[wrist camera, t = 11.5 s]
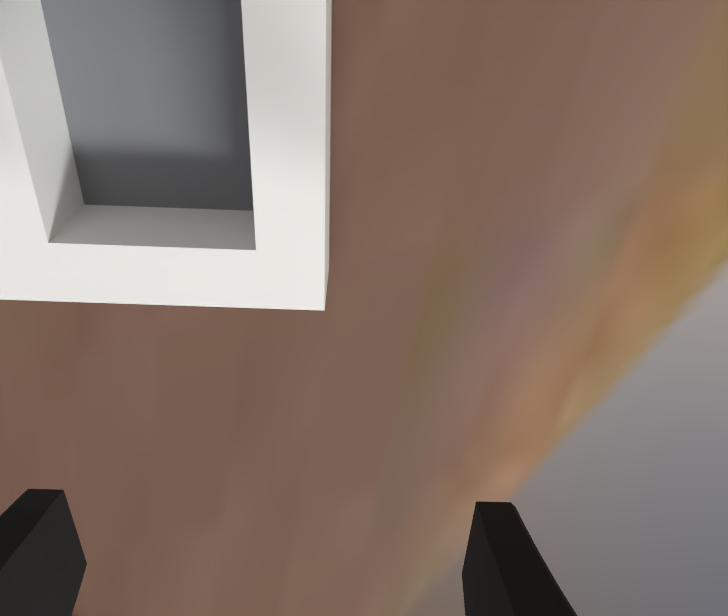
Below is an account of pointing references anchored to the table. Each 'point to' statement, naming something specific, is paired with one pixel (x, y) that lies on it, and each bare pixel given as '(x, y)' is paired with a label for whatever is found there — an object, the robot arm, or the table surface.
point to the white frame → (166, 152)
